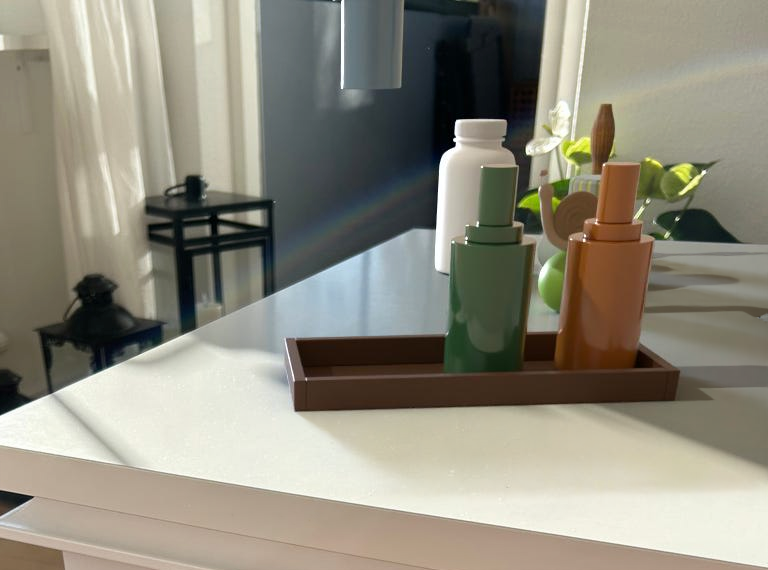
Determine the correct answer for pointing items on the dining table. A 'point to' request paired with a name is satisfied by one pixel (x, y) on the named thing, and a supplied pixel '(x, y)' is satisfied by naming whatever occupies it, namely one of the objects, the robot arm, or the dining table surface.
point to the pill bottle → (465, 179)
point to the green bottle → (490, 282)
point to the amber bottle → (605, 280)
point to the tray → (455, 376)
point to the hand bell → (602, 137)
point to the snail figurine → (560, 235)
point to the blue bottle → (371, 44)
